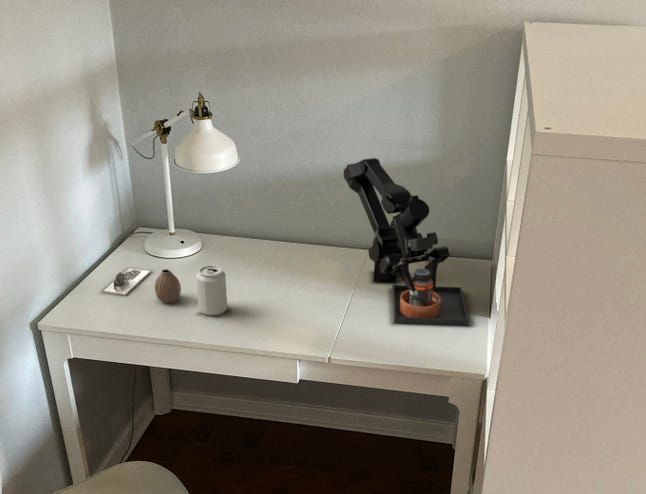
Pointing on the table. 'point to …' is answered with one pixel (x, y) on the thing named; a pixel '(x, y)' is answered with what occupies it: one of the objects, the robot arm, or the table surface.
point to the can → (212, 290)
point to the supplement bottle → (421, 289)
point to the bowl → (419, 311)
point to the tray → (449, 309)
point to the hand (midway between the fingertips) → (423, 289)
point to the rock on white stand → (126, 281)
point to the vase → (167, 287)
